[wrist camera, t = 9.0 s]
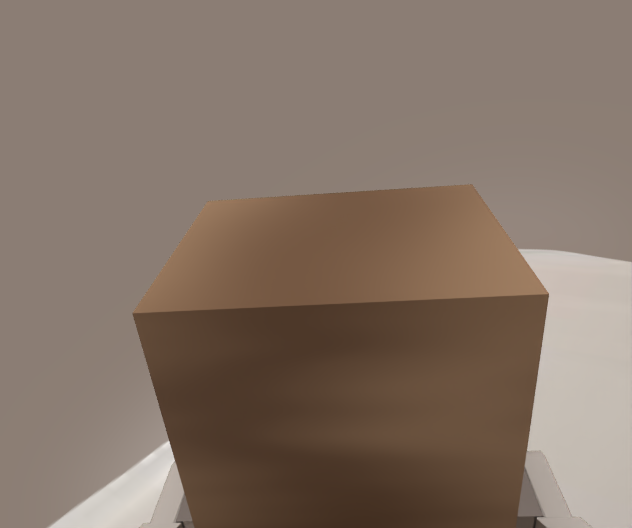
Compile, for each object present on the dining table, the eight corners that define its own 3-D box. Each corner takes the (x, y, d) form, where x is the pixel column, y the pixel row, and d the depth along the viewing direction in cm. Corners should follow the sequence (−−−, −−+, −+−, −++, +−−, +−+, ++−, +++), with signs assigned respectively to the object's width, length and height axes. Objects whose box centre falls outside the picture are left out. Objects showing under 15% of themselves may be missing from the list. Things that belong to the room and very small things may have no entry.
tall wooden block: (443, 599, 16) (465, 174, 10) (477, 797, 12) (549, 294, 6) (288, 598, 17) (214, 190, 10) (270, 792, 13) (132, 314, 6)
